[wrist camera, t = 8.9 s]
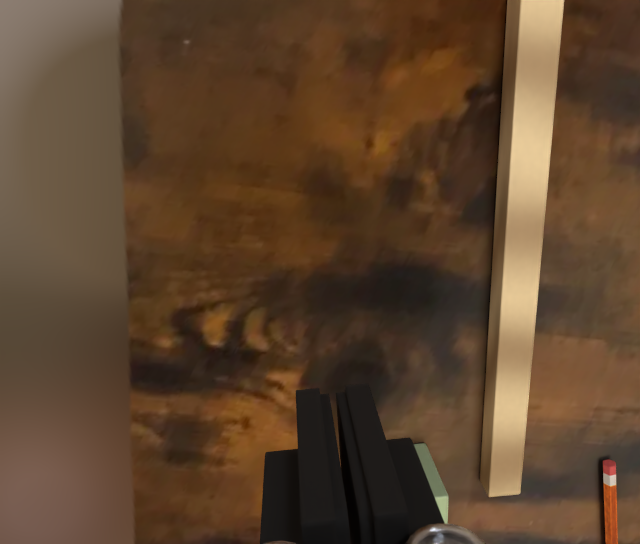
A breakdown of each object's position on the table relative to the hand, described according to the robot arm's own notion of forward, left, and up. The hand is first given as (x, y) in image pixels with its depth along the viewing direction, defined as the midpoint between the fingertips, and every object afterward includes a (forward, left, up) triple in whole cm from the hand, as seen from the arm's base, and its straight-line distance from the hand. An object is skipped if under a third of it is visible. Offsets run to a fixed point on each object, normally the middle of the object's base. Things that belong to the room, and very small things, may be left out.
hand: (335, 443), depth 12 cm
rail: (+11, 0, -16) cm, 19 cm away
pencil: (+20, -24, -16) cm, 35 cm away
